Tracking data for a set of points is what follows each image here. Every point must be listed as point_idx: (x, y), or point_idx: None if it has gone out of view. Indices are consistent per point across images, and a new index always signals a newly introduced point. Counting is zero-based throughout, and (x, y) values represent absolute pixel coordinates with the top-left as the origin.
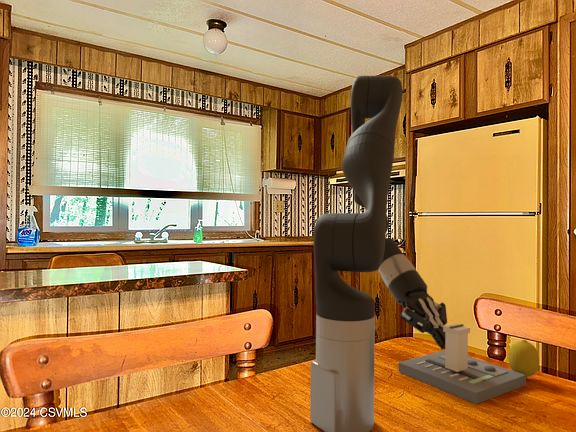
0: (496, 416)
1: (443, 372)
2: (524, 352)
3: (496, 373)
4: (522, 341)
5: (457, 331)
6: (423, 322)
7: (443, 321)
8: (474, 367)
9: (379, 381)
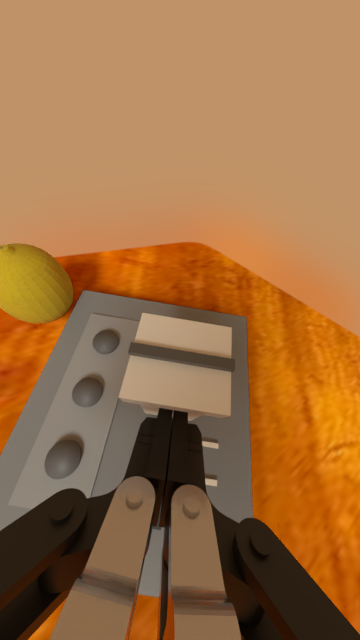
0: (249, 295)
1: None
2: (53, 262)
3: (122, 324)
4: (12, 253)
5: (229, 332)
6: (310, 583)
7: (83, 512)
8: (116, 373)
9: (350, 566)
